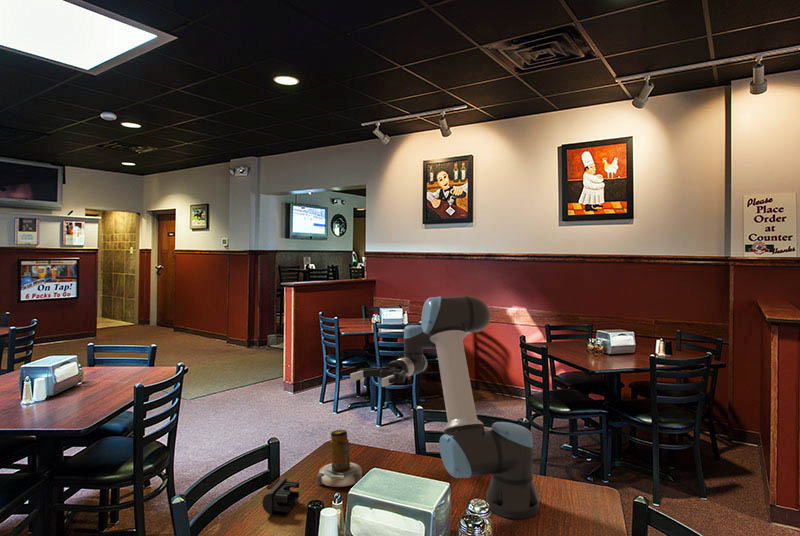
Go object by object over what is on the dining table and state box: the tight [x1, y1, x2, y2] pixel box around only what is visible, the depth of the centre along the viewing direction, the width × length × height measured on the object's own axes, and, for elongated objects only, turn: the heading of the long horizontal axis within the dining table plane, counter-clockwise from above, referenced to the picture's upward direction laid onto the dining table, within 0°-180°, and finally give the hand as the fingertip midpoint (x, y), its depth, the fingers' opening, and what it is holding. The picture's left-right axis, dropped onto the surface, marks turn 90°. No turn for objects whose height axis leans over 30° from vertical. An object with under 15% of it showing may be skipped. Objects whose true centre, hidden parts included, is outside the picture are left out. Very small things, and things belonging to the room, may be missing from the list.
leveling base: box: [316, 461, 363, 488], centre depth 154 cm, size 14×15×4 cm
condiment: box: [326, 429, 359, 475], centre depth 154 cm, size 7×8×12 cm
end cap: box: [261, 477, 300, 518], centre depth 135 cm, size 10×7×7 cm
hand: (366, 380), depth 161 cm, fingers open, 13 cm apart
